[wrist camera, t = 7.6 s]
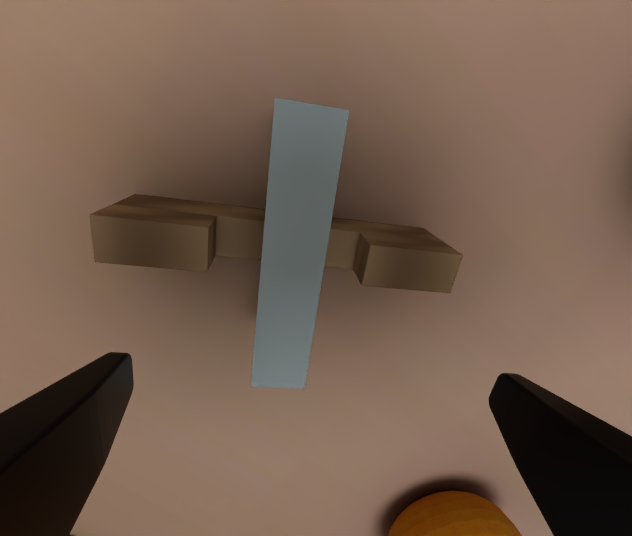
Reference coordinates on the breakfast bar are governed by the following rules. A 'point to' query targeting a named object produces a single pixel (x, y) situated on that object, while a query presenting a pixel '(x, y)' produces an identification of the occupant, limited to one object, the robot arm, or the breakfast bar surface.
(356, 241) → the walnut u-shaped block
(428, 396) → the breakfast bar surface
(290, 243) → the blue-grey archway
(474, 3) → the breakfast bar surface
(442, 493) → the fruit
